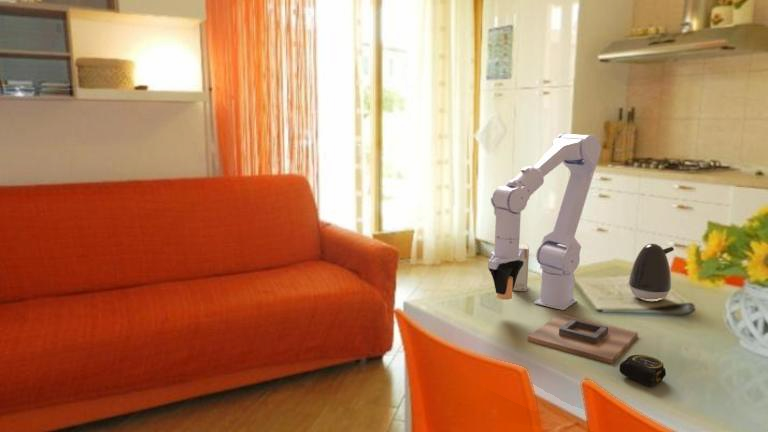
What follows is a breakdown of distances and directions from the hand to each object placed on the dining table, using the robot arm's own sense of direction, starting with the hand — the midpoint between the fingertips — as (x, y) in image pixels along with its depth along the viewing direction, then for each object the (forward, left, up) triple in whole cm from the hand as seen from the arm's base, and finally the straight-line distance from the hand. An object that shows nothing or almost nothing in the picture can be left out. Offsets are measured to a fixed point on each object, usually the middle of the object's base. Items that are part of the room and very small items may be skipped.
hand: (504, 291), depth 137 cm
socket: (+1, +20, -6) cm, 21 cm away
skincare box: (-23, -7, -7) cm, 25 cm away
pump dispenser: (-37, +24, -7) cm, 45 cm away
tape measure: (+13, +36, -7) cm, 39 cm away
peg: (0, 0, -2) cm, 2 cm away
